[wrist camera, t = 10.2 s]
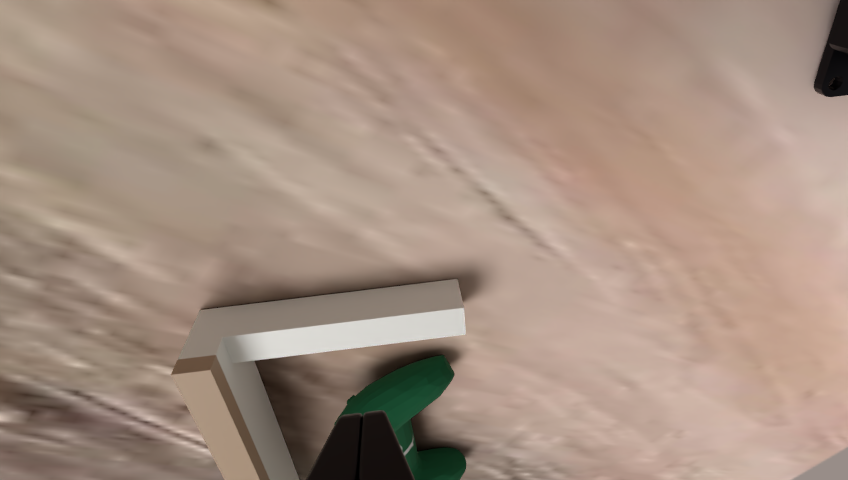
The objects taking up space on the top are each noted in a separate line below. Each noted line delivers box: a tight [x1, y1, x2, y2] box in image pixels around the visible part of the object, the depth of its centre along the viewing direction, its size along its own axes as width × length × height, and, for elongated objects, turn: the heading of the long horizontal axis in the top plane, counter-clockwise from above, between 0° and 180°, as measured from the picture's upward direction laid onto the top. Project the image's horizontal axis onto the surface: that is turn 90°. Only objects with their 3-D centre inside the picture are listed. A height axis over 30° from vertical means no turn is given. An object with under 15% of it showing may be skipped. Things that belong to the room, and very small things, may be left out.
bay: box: [171, 279, 466, 480], centre depth 26 cm, size 12×18×4 cm, turn 5°
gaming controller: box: [335, 355, 466, 480], centre depth 26 cm, size 9×4×6 cm
